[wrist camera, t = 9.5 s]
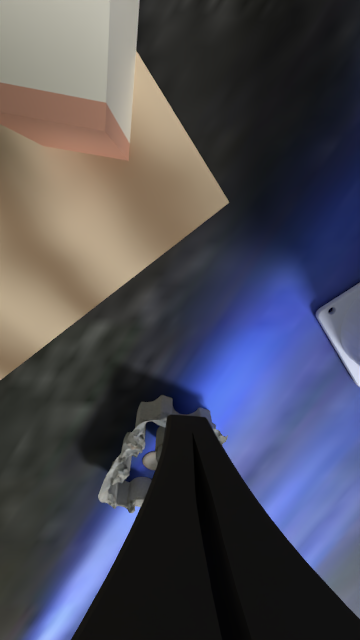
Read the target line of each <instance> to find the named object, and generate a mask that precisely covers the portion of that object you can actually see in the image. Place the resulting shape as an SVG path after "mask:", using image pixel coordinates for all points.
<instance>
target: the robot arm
mask: <svg viewBox="0 0 360 640" xmlns="http://www.w3.org/2000/svg"><path fill="white" fill-rule="evenodd" d="M332 307H333V309H332V311H331V312H329V313H328V311H329V309H330V308H332ZM316 318H317V319H318V321H319V323H320V324H321V326H322V328H323V330H324V331H325V333H326V335H327V336H328V338H329V340H330V342H331V343H332V345H333V347H334V348H335V350H336V352H337V353H338V355H339V357H340V359H341V360H342V362H343V364H344V365H345V367H346V369H347V370H348V372H349V374H350V376H351V377H352V379H353V381H354V382H355V384H356V385H358V386H359V387H360V283H358V284H357V285H355V286H354V287H352V288H351V289H349V290H347V291H346V292H344V293H343V294H341V295H340V296H338V297H336V298H335V299H333V300H332V301H330V302H329V303H327V304H325V305H324V306H322V307H321V308H319V309H318V310H317V312H316ZM71 640H360V619H359V618H358V617H357V616H356V615H355V614H354V613H353V612H352V611H351V610H350V609H349V608H348V607H347V606H346V605H345V603H344V602H343V601H342V600H341V599H340V598H339V597H338V596H337V595H336V594H335V593H334V591H333V590H332V589H331V588H330V587H329V586H328V585H327V584H326V583H325V582H324V581H323V580H322V578H321V577H320V576H319V575H318V574H317V573H316V572H315V571H314V570H313V569H312V568H311V566H310V565H309V564H308V563H307V562H306V561H305V560H304V559H303V557H302V556H301V555H300V554H299V553H298V551H297V550H296V549H295V548H294V547H293V545H292V544H291V543H290V542H289V541H288V540H287V538H286V537H285V536H284V535H283V533H282V532H281V531H280V530H279V528H278V527H277V526H276V524H275V523H274V522H273V521H272V519H271V518H270V517H269V515H268V514H267V513H266V511H265V510H264V509H263V507H262V506H261V505H260V503H259V502H258V500H257V499H256V498H255V496H254V495H253V493H252V492H251V491H250V489H249V488H248V486H247V485H246V483H245V482H244V480H243V479H242V477H241V476H240V474H239V473H238V471H237V469H236V468H235V466H234V465H233V463H232V461H231V460H230V458H229V457H228V455H227V453H226V452H225V450H224V448H223V447H222V445H221V443H220V441H219V440H218V438H217V436H216V434H215V432H214V430H213V429H212V427H211V425H210V423H209V421H208V419H207V418H206V417H199V416H187V415H174V414H170V415H169V416H167V420H166V427H165V433H164V439H163V445H162V451H161V455H160V458H159V461H158V464H157V467H156V470H155V473H154V476H153V478H152V481H151V483H150V486H149V489H148V491H147V494H146V496H145V499H144V501H143V503H142V506H141V508H140V510H139V512H138V515H137V517H136V519H135V521H134V523H133V525H132V528H131V530H130V532H129V534H128V536H127V538H126V540H125V542H124V544H123V546H122V548H121V550H120V552H119V554H118V556H117V558H116V560H115V562H114V564H113V566H112V568H111V569H110V571H109V573H108V575H107V577H106V579H105V581H104V582H103V584H102V586H101V588H100V590H99V591H98V593H97V595H96V597H95V598H94V600H93V602H92V604H91V606H90V607H89V609H88V611H87V613H86V614H85V616H84V618H83V620H82V622H81V623H80V625H79V627H78V629H77V630H76V632H75V634H74V635H73V637H72V639H71Z"/></svg>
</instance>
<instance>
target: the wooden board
mask: <svg viewBox="0 0 360 640" xmlns="http://www.w3.org/2000/svg"><path fill="white" fill-rule="evenodd" d="M228 203H229V201H228V199H227V198H226V196H225V195H224V193H223V191H222V190H221V188H220V186H219V185H218V183H217V182H216V180H215V178H214V177H213V175H212V173H211V172H210V170H209V168H208V167H207V165H206V164H205V162H204V160H203V159H202V157H201V155H200V154H199V152H198V151H197V149H196V147H195V146H194V144H193V142H192V141H191V139H190V138H189V136H188V134H187V133H186V131H185V129H184V128H183V126H182V125H181V123H180V121H179V120H178V118H177V116H176V115H175V113H174V111H173V110H172V108H171V107H170V105H169V103H168V102H167V100H166V98H165V97H164V95H163V94H162V92H161V90H160V89H159V87H158V85H157V84H156V82H155V81H154V79H153V77H152V76H151V74H150V72H149V71H148V69H147V68H146V66H145V64H144V63H143V61H142V59H141V58H140V56H139V54H138V53H137V51H136V59H135V74H134V89H133V104H132V119H131V134H130V148H129V161H127V160H121V159H115V158H110V157H104V156H98V155H92V154H87V153H81V152H75V151H69V150H63V149H58V148H52V147H46V146H42V145H40V144H38V143H36V142H34V141H32V140H30V139H28V138H26V137H24V136H23V135H21V134H19V133H17V132H15V131H13V130H11V129H9V128H7V127H5V126H3V125H1V124H0V380H1V379H2V378H4V377H5V376H6V375H8V374H9V373H10V372H11V371H13V370H14V369H15V368H17V367H18V366H19V365H20V364H22V363H23V362H24V361H26V360H27V359H28V358H30V357H31V356H32V355H33V354H35V353H36V352H37V351H39V350H40V349H41V348H42V347H44V346H45V345H46V344H48V343H49V342H50V341H51V340H53V339H54V338H55V337H57V336H58V335H59V334H60V333H62V332H63V331H64V330H66V329H67V328H68V327H69V326H71V325H72V324H73V323H75V322H76V321H77V320H79V319H80V318H81V317H82V316H84V315H85V314H86V313H88V312H89V311H90V310H91V309H93V308H94V307H95V306H97V305H98V304H99V303H100V302H102V301H103V300H104V299H106V298H107V297H108V296H109V295H111V294H112V293H113V292H115V291H116V290H117V289H118V288H120V287H121V286H122V285H124V284H125V283H126V282H128V281H129V280H130V279H131V278H133V277H134V276H135V275H137V274H138V273H139V272H140V271H142V270H143V269H144V268H146V267H147V266H148V265H149V264H151V263H152V262H153V261H155V260H156V259H157V258H158V257H160V256H161V255H162V254H164V253H165V252H166V251H167V250H169V249H170V248H171V247H173V246H174V245H175V244H176V243H178V242H179V241H180V240H182V239H183V238H184V237H186V236H187V235H188V234H189V233H191V232H192V231H193V230H195V229H196V228H197V227H198V226H200V225H201V224H202V223H204V222H205V221H206V220H207V219H209V218H210V217H211V216H213V215H214V214H215V213H216V212H218V211H219V210H220V209H222V208H223V207H224V206H225V205H227V204H228Z"/></svg>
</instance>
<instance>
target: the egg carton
mask: <svg viewBox="0 0 360 640" xmlns="http://www.w3.org/2000/svg"><path fill="white" fill-rule="evenodd" d="M170 414H174V415H185V414H179V413H178V412H176V411H175V410H174V408H173V399H172V398H170V397H166V396H164V395H161V396H160V397H159V398H158V399H156V400H155V401H152V402H141V403H140V405H139V408H138V411H137V417H136V424H135V429H134V430H133V432H127V434H126V436H125V438H124V441H123V446H122V451H121V454H120V455H119V456H118V457H117V458H116V460H114V461H113V463H112V466H111V469H110V471H109V472H108V474H107V475H106V477H105V480H104V482H103V485H102V487H101V490H100V492H99V495H98V498H99V500H100V501H101V502H105V503H108V504H109V505H111V506H112V507H113V508H114V509H115V508H116V506H122V507H125V508H127V509H128V511H129V513H133V512H134V511H135V506H138V507H141V506H142V503H143V501H144V499H145V496H146V494H147V491H148V489H149V486H150V483H151V481H152V480H151V479H150V478H147V477H137V478H134V479H133V480H132V481H131V482H127V481H124V480H125V479H126V478H127V477H128V476H129V472H130V465H131V457H132V456H134V457H137V456H138V453H139V452H140V453H142V450H143V449H144V448H145V431H146V423H147V422H149V421H153V422H154V423H156V424H157V425H160V427H159V428H158V429H157V433H156V447H155V451H152V452H149V453H147V454H146V455H145V456H144V458H143V464H144V466H145V467H146V468H148V469H150V470H156V467H157V464H158V461H159V458H160V455H161V451H162V445H163V439H164V433H165V427H166V420H167V416H169V415H170ZM186 415H187V416H199V417H206V418H207V419H208V421H209V423H210V425H211V427H212V429H213V430H214V432H215V434H216V436H217V438H218V440H219V441H220V443H221V445H222V444H223V443H224V442H226V440H227V436H228V435H227V436H226V437H225V436H222V435H221V433H220V431H219V430H216V425H215V424H213V423H212V420H211V415H210V411H209V410H207V409H203V408H198V409H197V410H196V411H195V412H193V413H191V414H186Z"/></svg>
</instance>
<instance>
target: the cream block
mask: <svg viewBox="0 0 360 640" xmlns="http://www.w3.org/2000/svg"><path fill="white" fill-rule="evenodd" d="M138 15H139V0H0V124H1V125H3V126H5V127H7V128H9V129H11V130H13V131H15V132H17V133H19V134H21V135H23V136H24V137H26V138H28V139H30V140H32V141H34V142H36V143H38V144H40V145H42V146H46V147H52V148H58V149H63V150H69V151H75V152H81V153H87V154H92V155H98V156H104V157H110V158H115V159H121V160H127V161H129V148H130V134H131V119H132V104H133V89H134V74H135V59H136V45H137V30H138Z"/></svg>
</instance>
